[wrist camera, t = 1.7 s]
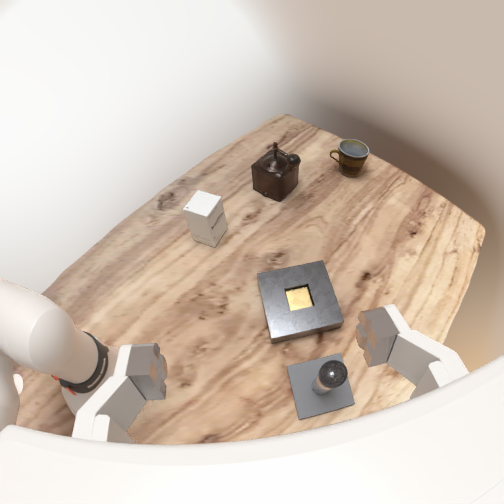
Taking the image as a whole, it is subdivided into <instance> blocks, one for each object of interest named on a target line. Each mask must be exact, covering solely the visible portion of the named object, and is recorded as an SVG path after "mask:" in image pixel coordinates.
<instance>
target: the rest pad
mask: <svg viewBox="0 0 504 504" xmlns="http://www.w3.org/2000/svg"><path fill="white" fill-rule="evenodd" d="M330 360H337V361H340V362H342V363H343V359H342V356H341V353H338V354H334V355H331V356H327V357H323V358H319V359H315V360H311V361H307V362H303V363H299V364H295V365H290V366H287V370H288V375H289V379H290V383H291V387H292V392H293V396H294V400H295V405H296V409H297V413H298V418H299V419H303V418H307V417H311V416H315V415H319V414H322V413H326V412H330V411H333V410H336V409H340V408H343V407H346V406H350V405H353V404H355V403H354V399H353V395H352V391H351V388H350V384H349V380H348V377H347V379H346V381H345V382H344V383H343V384H342V385H341V386H339V387H337V388H334V389H331V390H330V391H329V392H327V393H326V394H323V395H318V394H316V393H315V392H314V391H313V390H312V382H313V381H314V379H315V378H316V377H317V376H318V373H319V370H320V368H321V367H322V365H323V364H324V363H326V362H327V361H330ZM343 364H344V363H343Z"/></svg>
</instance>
